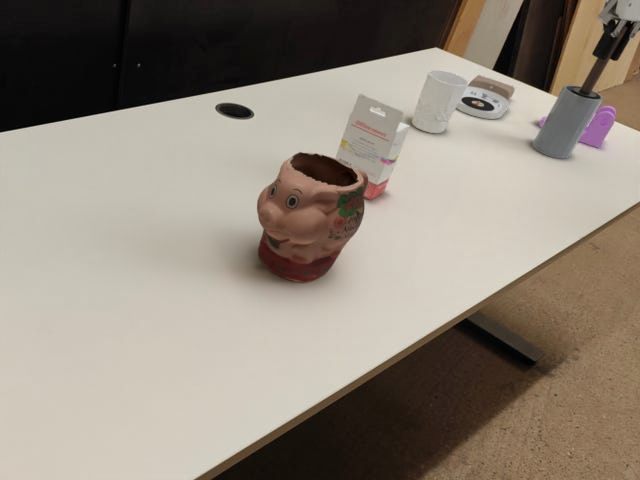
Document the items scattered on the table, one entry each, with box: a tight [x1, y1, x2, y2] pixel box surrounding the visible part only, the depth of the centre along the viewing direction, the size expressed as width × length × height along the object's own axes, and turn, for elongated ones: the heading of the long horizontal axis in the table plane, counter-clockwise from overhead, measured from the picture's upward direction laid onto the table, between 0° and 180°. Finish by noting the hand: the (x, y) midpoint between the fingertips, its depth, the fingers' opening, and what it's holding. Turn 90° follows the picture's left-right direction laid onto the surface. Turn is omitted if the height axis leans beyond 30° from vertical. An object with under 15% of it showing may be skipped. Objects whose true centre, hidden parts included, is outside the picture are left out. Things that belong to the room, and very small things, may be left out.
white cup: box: [411, 69, 469, 134], centre depth 135 cm, size 8×8×10 cm
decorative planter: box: [256, 151, 368, 283], centre depth 89 cm, size 20×12×14 cm, turn 135°
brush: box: [572, 26, 627, 99], centre depth 127 cm, size 4×4×16 cm
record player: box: [456, 74, 516, 120], centre depth 152 cm, size 12×3×20 cm
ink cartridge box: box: [335, 93, 411, 201], centre depth 108 cm, size 9×5×15 cm, turn 47°
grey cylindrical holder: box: [532, 84, 604, 160], centre depth 134 cm, size 7×7×12 cm
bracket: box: [538, 105, 617, 149], centre depth 145 cm, size 13×6×7 cm, turn 59°
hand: (604, 57), depth 125 cm, fingers closed on brush, 2 cm apart
